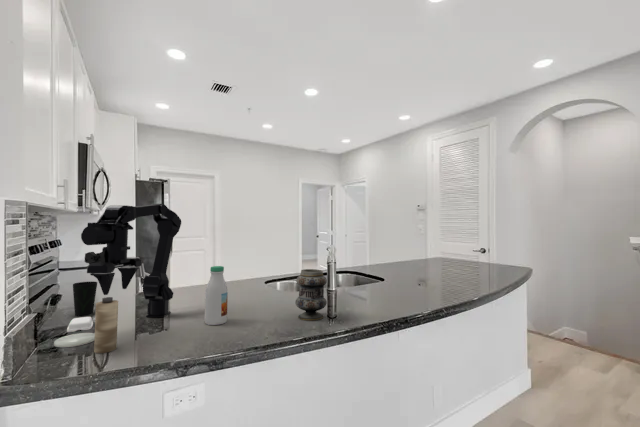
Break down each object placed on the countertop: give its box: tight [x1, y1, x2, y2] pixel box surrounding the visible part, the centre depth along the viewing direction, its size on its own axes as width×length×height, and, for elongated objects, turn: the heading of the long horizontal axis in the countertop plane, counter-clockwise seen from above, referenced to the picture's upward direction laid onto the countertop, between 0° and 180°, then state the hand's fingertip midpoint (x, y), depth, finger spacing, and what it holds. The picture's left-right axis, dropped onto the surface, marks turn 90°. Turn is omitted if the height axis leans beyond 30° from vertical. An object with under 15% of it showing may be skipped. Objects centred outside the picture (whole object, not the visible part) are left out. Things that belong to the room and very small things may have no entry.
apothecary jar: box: [295, 268, 328, 322], centre depth 121 cm, size 12×12×18 cm
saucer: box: [53, 332, 95, 349], centre depth 94 cm, size 10×10×1 cm
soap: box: [66, 316, 94, 333], centre depth 107 cm, size 9×7×3 cm
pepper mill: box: [93, 296, 119, 354], centre depth 88 cm, size 5×5×14 cm
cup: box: [72, 281, 98, 317], centre depth 122 cm, size 8×8×12 cm
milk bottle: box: [204, 265, 229, 326], centre depth 114 cm, size 8×8×20 cm
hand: (115, 291), depth 102 cm, fingers open, 9 cm apart
